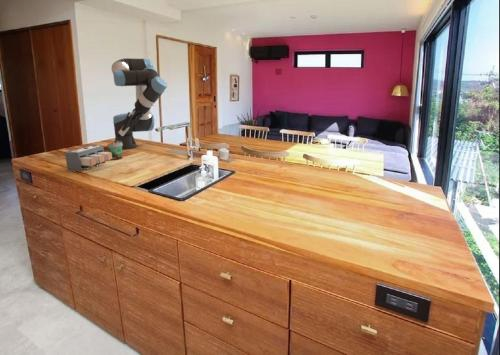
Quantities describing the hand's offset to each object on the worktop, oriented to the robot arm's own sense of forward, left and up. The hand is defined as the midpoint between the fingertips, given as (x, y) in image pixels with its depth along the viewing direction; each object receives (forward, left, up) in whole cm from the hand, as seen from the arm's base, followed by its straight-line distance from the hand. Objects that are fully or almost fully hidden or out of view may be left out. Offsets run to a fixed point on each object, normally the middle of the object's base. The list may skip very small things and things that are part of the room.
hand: (120, 134), depth 179 cm
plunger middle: (+14, -5, -15) cm, 21 cm away
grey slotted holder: (+18, -9, -18) cm, 27 cm away
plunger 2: (+9, -9, -15) cm, 20 cm away
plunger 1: (+18, 0, -15) cm, 24 cm away
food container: (0, -21, -18) cm, 28 cm away
